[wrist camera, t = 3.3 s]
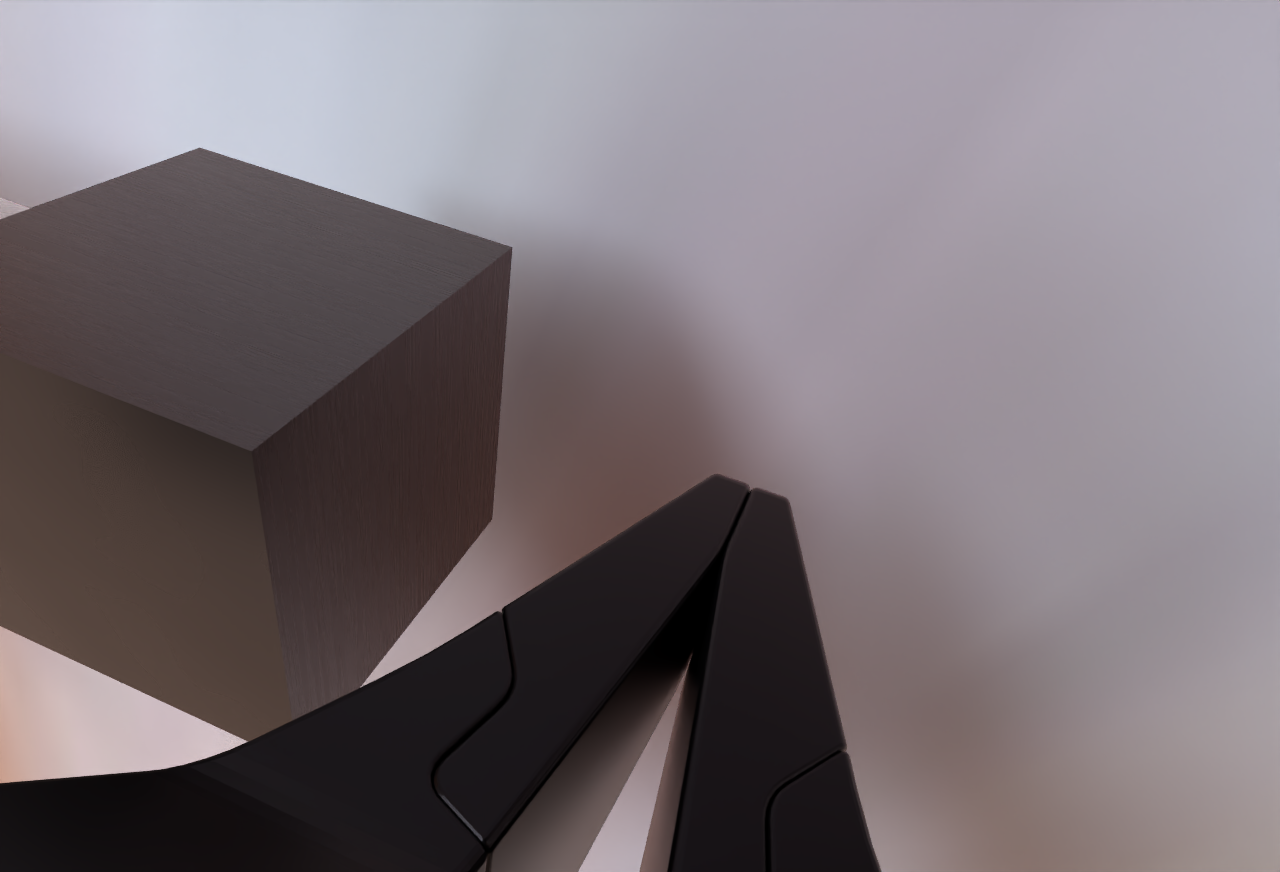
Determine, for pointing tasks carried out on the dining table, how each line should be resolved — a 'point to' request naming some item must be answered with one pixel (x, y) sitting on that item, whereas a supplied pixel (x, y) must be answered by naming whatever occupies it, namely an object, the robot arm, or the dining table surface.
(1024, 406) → the dining table surface
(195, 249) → the shaft
